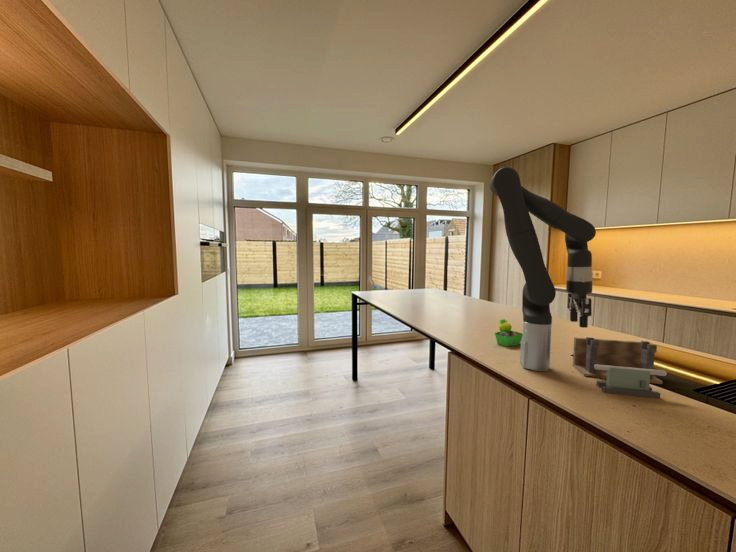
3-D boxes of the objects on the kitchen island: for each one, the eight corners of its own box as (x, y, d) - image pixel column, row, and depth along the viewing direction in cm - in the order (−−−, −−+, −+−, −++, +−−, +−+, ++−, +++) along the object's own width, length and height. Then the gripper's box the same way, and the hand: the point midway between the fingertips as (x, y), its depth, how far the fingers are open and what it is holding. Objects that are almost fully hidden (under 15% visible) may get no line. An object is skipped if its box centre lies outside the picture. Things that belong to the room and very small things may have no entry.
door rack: (603, 392, 90) (604, 387, 90) (596, 385, 95) (596, 380, 95) (660, 398, 86) (660, 393, 86) (649, 390, 91) (649, 386, 91)
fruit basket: (506, 348, 132) (507, 323, 131) (491, 342, 140) (491, 319, 139) (524, 344, 136) (525, 321, 135) (508, 339, 144) (509, 317, 143)
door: (596, 390, 91) (598, 366, 90) (592, 386, 94) (594, 363, 93) (668, 398, 86) (670, 373, 85) (662, 394, 89) (664, 369, 88)
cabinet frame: (583, 376, 101) (585, 340, 100) (572, 365, 111) (574, 333, 110) (662, 384, 95) (665, 346, 94) (643, 372, 105) (646, 337, 104)
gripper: (560, 277, 112) (559, 319, 113) (574, 281, 98) (574, 328, 99) (582, 277, 109) (582, 320, 111) (601, 281, 96) (600, 329, 97)
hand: (578, 324), depth 105 cm, fingers open, 8 cm apart
